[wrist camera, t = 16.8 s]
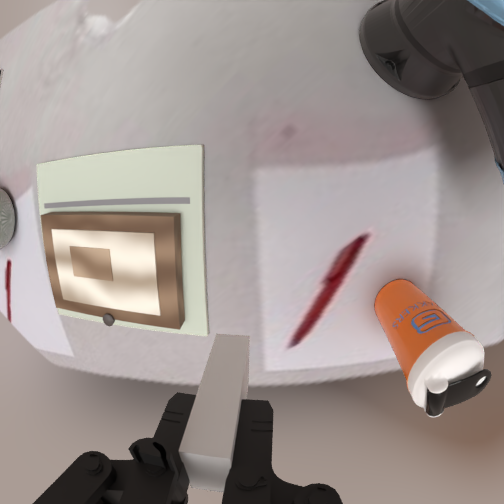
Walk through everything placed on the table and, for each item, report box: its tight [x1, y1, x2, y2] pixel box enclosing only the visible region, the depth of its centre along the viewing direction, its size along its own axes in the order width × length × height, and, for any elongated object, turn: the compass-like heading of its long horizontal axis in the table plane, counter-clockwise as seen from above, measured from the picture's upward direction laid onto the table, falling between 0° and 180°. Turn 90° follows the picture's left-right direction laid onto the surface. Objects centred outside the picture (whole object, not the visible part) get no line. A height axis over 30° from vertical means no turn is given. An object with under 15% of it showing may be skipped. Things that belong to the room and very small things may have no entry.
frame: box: [41, 212, 185, 330], centre depth 36 cm, size 16×22×3 cm
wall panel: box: [37, 145, 209, 336], centre depth 38 cm, size 26×28×1 cm
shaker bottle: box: [375, 279, 491, 417], centre depth 28 cm, size 9×9×20 cm
